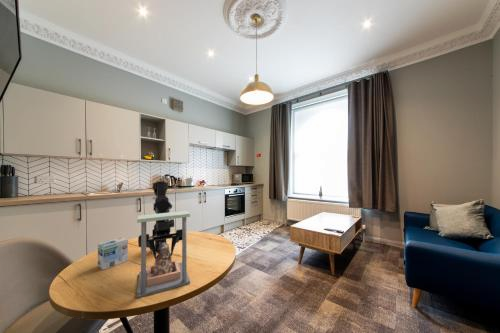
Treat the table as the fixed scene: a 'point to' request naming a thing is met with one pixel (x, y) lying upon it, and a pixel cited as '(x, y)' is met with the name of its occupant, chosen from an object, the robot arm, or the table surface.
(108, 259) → the light bulb box
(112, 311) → the table surface
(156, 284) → the awning stand
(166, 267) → the figurine
